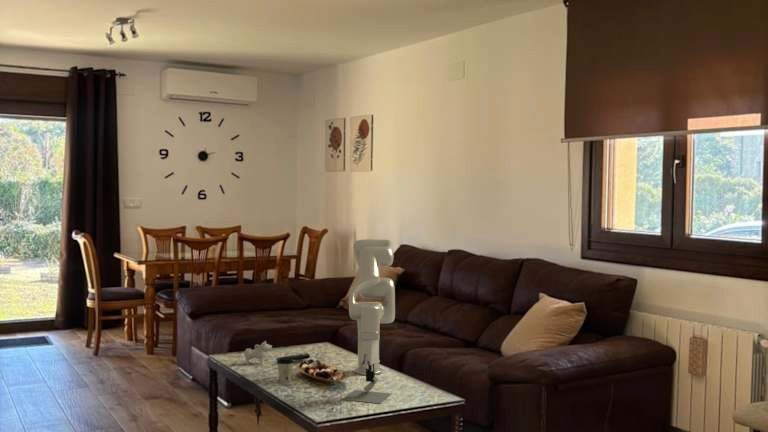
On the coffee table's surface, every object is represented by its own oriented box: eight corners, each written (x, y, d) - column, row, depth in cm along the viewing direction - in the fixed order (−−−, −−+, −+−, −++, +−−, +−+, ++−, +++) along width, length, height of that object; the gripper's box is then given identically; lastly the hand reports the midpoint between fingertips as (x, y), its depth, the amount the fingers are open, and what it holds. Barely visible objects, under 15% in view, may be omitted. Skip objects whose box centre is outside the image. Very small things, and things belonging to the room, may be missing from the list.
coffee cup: (290, 384, 324) (290, 360, 323) (274, 383, 325) (274, 360, 324) (295, 379, 330) (295, 357, 330) (280, 379, 332) (280, 356, 331)
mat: (354, 390, 314) (354, 389, 314) (391, 394, 309) (391, 393, 309) (341, 399, 301) (341, 399, 301) (380, 404, 296) (380, 403, 296)
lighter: (367, 392, 311) (364, 391, 303) (364, 389, 311) (361, 388, 304) (380, 380, 312) (378, 379, 304) (377, 377, 312) (375, 376, 304)
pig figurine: (272, 365, 356) (271, 342, 355) (244, 365, 354) (244, 343, 354) (272, 362, 361) (272, 340, 361) (244, 363, 360) (244, 340, 359)
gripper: (368, 332, 315) (368, 376, 315) (354, 338, 301) (354, 384, 301) (385, 333, 312) (385, 377, 313) (372, 339, 298) (372, 386, 299)
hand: (370, 380), depth 307 cm, fingers closed
